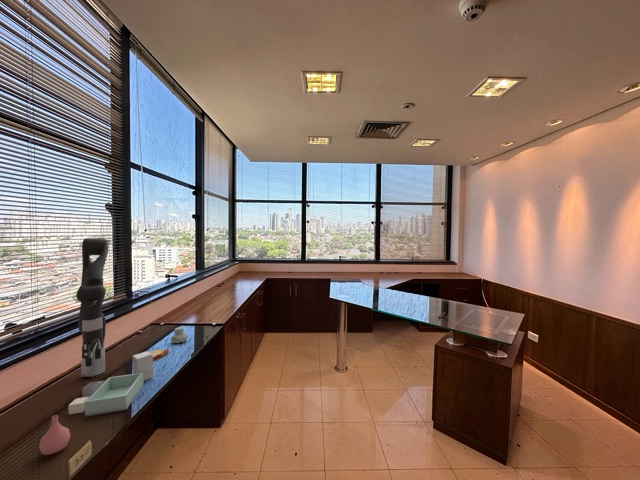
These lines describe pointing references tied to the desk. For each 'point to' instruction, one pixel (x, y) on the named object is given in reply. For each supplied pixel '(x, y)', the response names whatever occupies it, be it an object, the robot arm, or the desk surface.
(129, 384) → the tote
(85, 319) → the robot arm
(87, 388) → the tin block
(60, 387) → the desk surface
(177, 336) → the air freshener
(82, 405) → the cream box
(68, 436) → the pink vase
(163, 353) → the slice of bread
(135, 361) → the supplement box
